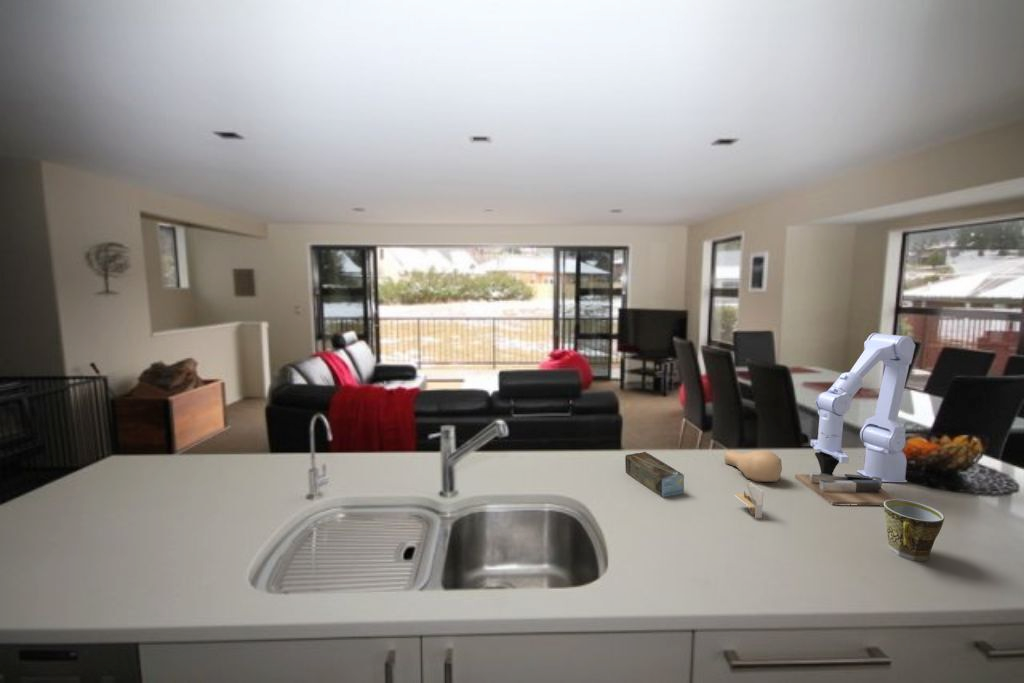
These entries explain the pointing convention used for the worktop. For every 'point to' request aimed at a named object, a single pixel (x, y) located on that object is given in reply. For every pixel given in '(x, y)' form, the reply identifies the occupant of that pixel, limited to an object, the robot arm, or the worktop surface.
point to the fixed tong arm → (849, 486)
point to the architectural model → (753, 500)
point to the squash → (756, 464)
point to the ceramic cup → (911, 528)
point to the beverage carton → (654, 474)
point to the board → (848, 494)
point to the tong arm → (841, 477)
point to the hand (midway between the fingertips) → (826, 477)
